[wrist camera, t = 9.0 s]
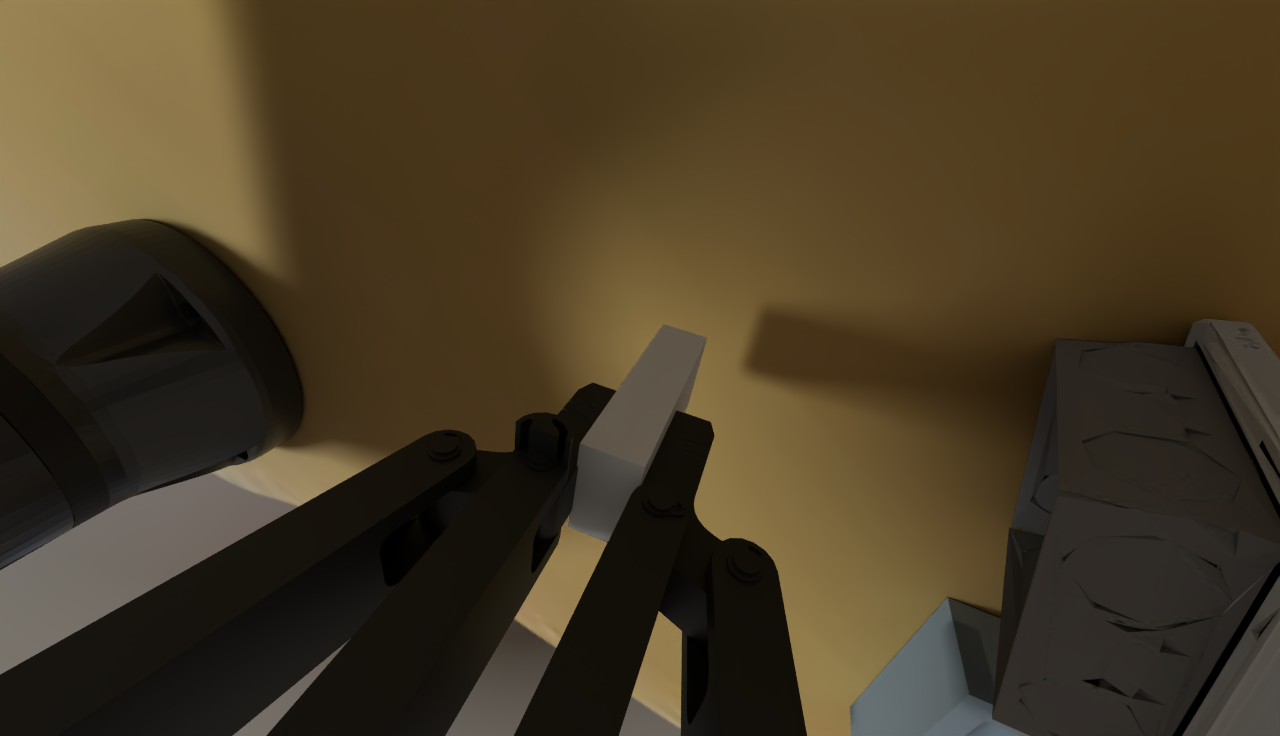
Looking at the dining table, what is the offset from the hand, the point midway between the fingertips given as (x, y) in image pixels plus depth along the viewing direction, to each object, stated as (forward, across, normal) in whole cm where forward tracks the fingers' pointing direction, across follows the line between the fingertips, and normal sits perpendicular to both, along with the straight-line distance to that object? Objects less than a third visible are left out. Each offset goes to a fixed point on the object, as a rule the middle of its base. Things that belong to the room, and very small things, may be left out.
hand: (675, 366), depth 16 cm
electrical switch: (+3, +13, 0) cm, 13 cm away
